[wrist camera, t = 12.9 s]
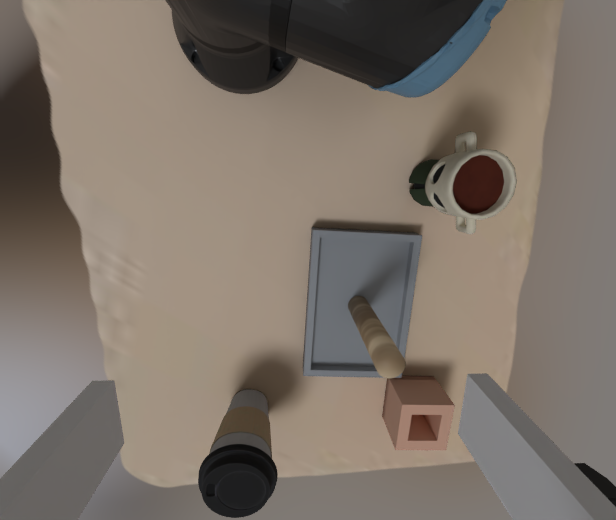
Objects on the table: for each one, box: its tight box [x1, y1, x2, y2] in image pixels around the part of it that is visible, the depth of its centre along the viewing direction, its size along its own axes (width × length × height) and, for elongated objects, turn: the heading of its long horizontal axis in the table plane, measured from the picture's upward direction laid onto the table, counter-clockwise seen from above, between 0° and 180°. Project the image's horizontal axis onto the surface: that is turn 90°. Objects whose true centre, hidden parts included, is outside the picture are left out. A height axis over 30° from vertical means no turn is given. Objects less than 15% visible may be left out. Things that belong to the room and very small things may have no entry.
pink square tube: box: [382, 376, 455, 450], centre depth 51 cm, size 8×8×7 cm
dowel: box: [348, 296, 406, 378], centre depth 41 cm, size 3×3×16 cm
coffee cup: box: [198, 389, 277, 518], centre depth 45 cm, size 9×9×15 cm
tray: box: [303, 227, 422, 378], centre depth 48 cm, size 22×15×2 cm
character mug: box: [409, 131, 517, 234], centre depth 40 cm, size 11×7×13 cm, turn 7°
